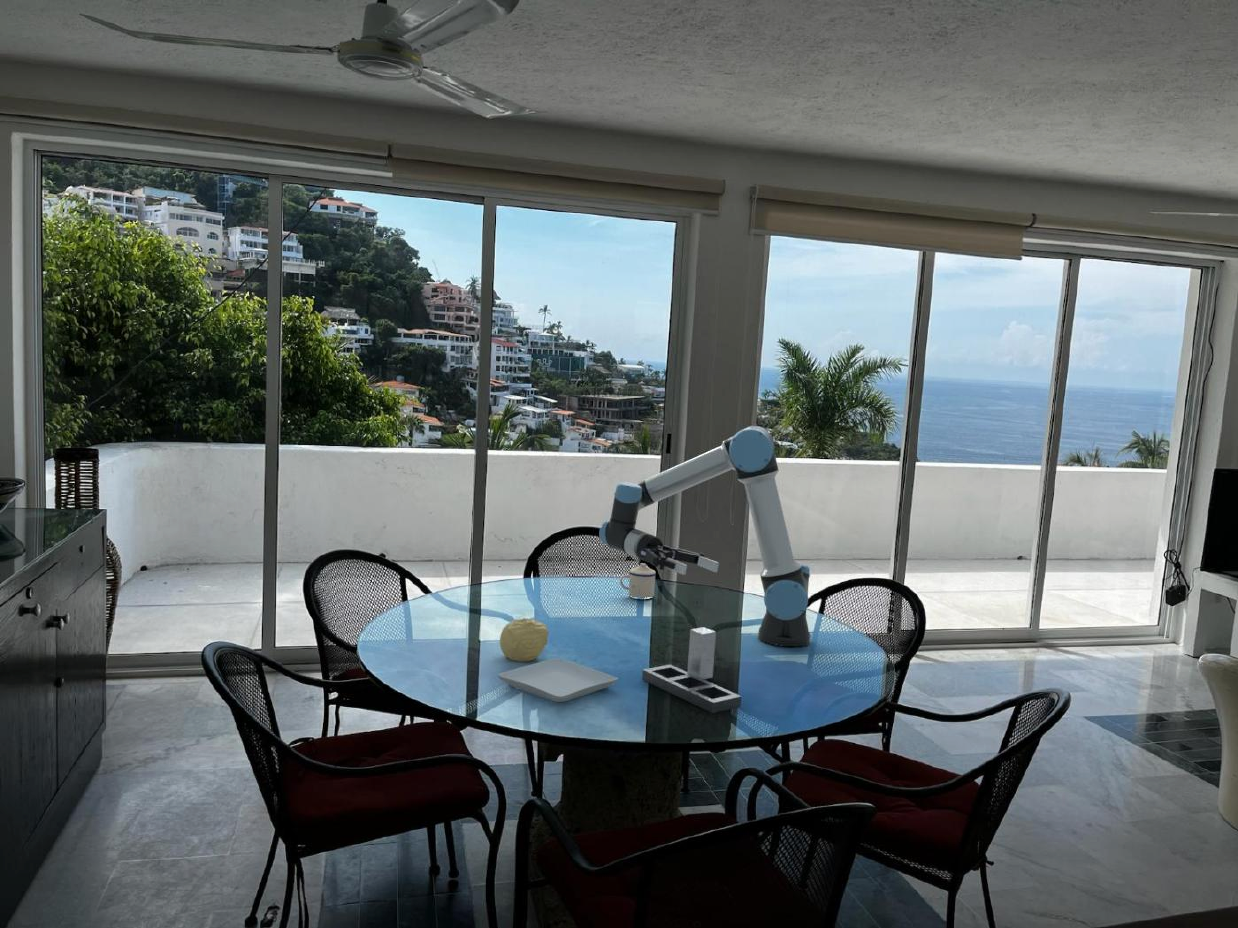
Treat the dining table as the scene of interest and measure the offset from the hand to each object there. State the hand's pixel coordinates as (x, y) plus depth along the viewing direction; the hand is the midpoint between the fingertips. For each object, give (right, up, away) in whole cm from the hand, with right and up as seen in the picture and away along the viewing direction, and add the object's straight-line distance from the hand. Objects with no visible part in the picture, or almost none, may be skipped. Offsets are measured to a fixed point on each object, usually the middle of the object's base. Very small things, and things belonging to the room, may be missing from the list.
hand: (701, 568), depth 253 cm
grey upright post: (-1, -26, -10) cm, 28 cm away
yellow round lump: (-48, -23, -4) cm, 53 cm away
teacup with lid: (-16, -17, +68) cm, 72 cm away
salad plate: (-37, -26, -25) cm, 52 cm away
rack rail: (-5, -27, -23) cm, 36 cm away
